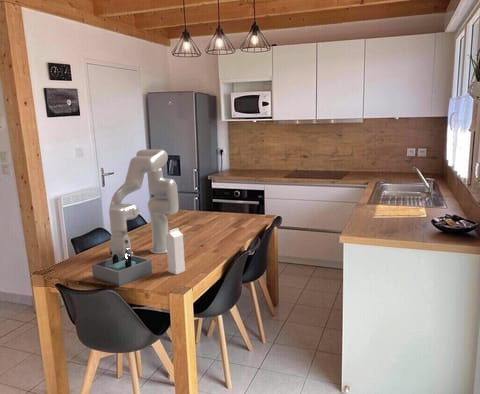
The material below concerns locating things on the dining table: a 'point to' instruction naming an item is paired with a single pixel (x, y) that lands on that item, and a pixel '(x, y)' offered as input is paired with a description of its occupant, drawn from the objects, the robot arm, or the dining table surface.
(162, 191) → the robot arm
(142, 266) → the large crate
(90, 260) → the dining table surface
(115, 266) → the small crate
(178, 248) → the milk
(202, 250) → the dining table surface
